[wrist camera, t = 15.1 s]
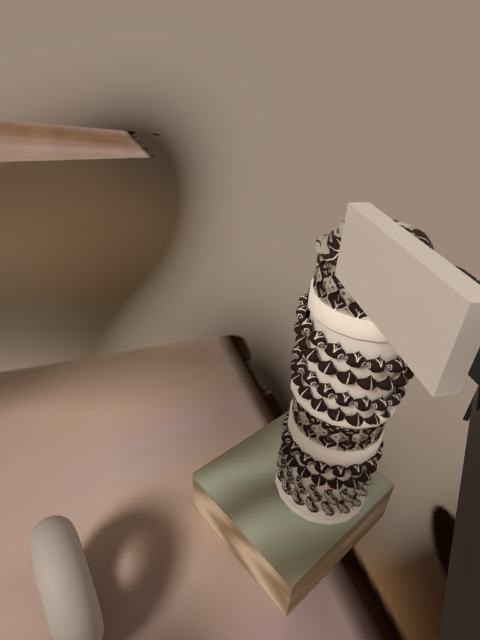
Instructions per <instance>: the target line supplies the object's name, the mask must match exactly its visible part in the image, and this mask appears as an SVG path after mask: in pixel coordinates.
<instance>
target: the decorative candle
mask: <svg viewBox="0 0 480 640" xmlns="http://www.w3.org/2000/svg"><path fill="white" fill-rule="evenodd" d="M392 220H393V219H392ZM393 221H395V222H396V223H397V224H399V225H400V226H401V227H403V228H404V229H405V230H407V231H408V232H410V233H411V234H412V235H414V236H415V237H416V238H418V239H419V240H420V241H422V242H423V243H424V244H426V245H427V246H428V247H430V248H431V249H432V250H434V248H433V246H432V243H431V241H430V239H429V237H428V236H427V234H425V233H424V232H423V231H421V230H420V229H418V228H416V227H414V226H412V225H409V224H407V223H404V222H401V221H397V220H393ZM344 222H345V221H343V222H342V223H340V224H339V225H338V226H336V227H335V228H334V229H333V230H332V232H330V233H326V234H324V235H323V236H322V237H320V238H319V239H317V240H316V251H317V252H318V258H317V264H316V270H315V275H314V278H313V279H312V280H311V285H310V288H309V290H308V294H304V295H302V296H301V297H300V299H299V304H300V305H301V306H299V307H298V309H297V311H296V314H297V317H298V319H299V322H297V323H296V324H295V326H294V331H295V332H296V333H297V334H298V335H297V337H296V339H295V343H296V344H297V345H296V346H295V347H294V348H293V351H292V352H293V356H294V357H295V358H296V359H294V360H293V361H292V362H291V369H292V370H293V372H292V376H291V378H292V379H291V389H292V392H293V394H294V399H293V400H292V401H291V405H290V411H289V412H288V413H287V415H286V419H285V420H284V421H283V427H284V432H283V433H282V434H281V439H282V442H281V445H280V446H279V449H278V454H279V456H278V458H277V472H276V479H275V483H276V486H277V489H278V492H279V495H280V497H281V499H282V500H283V501H284V502H285V503H286V505H287V506H288V507H289V508H290V510H291V511H292V512H294V513H296V514H297V515H299V516H301V517H303V518H304V519H306V520H308V521H310V522H315V523H320V524H324V525H332V524H338V523H344V522H347V521H348V520H350V519H351V518H352V517H354V516H355V515H357V514H358V513H359V512H360V509H361V507H362V505H363V503H364V501H365V498H366V496H367V495H368V491H367V490H366V489H365V485H367V486H370V485H372V479H371V478H370V474H373V473H374V472H375V471H376V469H377V464H376V461H378V460H379V459H380V458H381V455H382V453H381V450H380V449H381V448H382V447H383V441H382V439H383V436H384V433H385V426H384V425H385V423H386V421H388V420H389V419H391V418H392V417H393V415H394V413H395V411H396V409H397V407H398V405H399V403H400V398H402V397H404V395H405V389H404V388H403V386H405V385H406V384H407V383H408V380H409V379H411V378H412V377H413V376H414V373H413V372H412V371H411V369H410V368H409V367H408V366H407V364H406V363H405V362H404V361H403V359H402V358H401V357H400V356H399V354H398V353H397V352H396V351H395V349H394V348H393V347H392V346H391V344H390V343H389V342H388V341H387V340H386V338H385V337H384V336H383V335H382V333H381V332H380V331H379V330H378V328H377V327H376V326H375V325H374V323H373V322H372V321H371V320H370V318H369V317H368V316H367V315H366V313H365V312H364V311H363V310H362V308H361V307H360V306H359V305H358V303H357V302H356V301H355V300H354V298H353V297H352V296H351V295H350V293H349V292H348V291H347V290H346V288H345V287H344V286H343V285H342V283H341V282H340V281H339V280H338V279H337V277H336V276H335V270H336V265H337V260H338V254H339V249H340V244H341V238H342V233H343V228H344ZM306 307H307V308H308V310H306ZM302 331H303V332H304V333H302ZM402 370H403V371H404V370H405V371H404V374H403V373H402Z"/></svg>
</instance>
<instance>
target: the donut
mask: <svg viewBox="0 0 480 640" xmlns="http://www.w3.org/2000/svg"><path fill="white" fill-rule="evenodd" d="M29 553H30V559H31V564H32V569H33V574H34V578H35V582H36V587H37V590H38V594H39V598H40V602H41V606H42V609H43V613H44V616H45V620H46V623H47V626H48V630H49V633H50V636H51V639H52V640H102V638H103V634H104V622H103V616H102V612H101V608H100V604H99V601H98V597H97V593H96V590H95V587H94V583H93V580H92V577H91V573H90V570H89V567H88V564H87V560H86V557H85V554H84V551H83V548H82V545H81V542H80V539H79V536H78V534H77V531H76V529H75V527H74V525H73V523H72V522H71V521H70V520H69V519H68V518H65V517H63V516H51V517H47V518H45V519H44V520H42V521H41V522H39V523H38V525H37V526H36V527H35V528H34V530H33V531H32V533H31V535H30V540H29Z"/></svg>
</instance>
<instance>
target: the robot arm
mask: <svg viewBox="0 0 480 640" xmlns="http://www.w3.org/2000/svg"><path fill="white" fill-rule="evenodd" d="M335 276H336V277H337V279H338V280H339V281H340V282H341V283H342V285H343V286H344V287H345V288H346V290H347V291H348V292H349V293H350V295H351V296H352V297H353V298H354V300H355V301H356V302H357V303H358V305H359V306H360V307H361V308H362V310H363V311H364V312H365V313H366V315H367V316H368V317H369V318H370V320H371V321H372V322H373V323H374V325H375V326H376V327H377V328H378V330H379V331H380V332H381V333H382V335H383V336H384V337H385V338H386V340H387V341H388V342H389V343H390V344H391V346H392V347H393V348H394V349H395V351H396V352H397V353H398V354H399V356H400V357H401V358H402V359H403V361H404V362H405V363H406V364H407V366H408V367H409V368H410V369H411V371H412V372H413V373H414V374H415V376H416V377H417V378H418V379H419V381H420V382H421V383H422V384H423V386H424V387H425V388H426V389H427V390H428V392H429V393H430V394H431V396H432V397H441V396H449V395H459V394H461V391H462V389H463V387H464V385H465V382H466V380H467V378H468V376H470V377H471V378H472V379H473V380H474V381H475V382H476V383H477V384H478V385H479V386H478V388H477V390H476V392H475V395H474V397H473V399H472V401H471V403H470V405H469V407H468V409H467V411H466V414H465V416H464V418H463V420H466V421H468V420H469V418H470V422H469V429H468V437H467V443H466V450H465V457H464V465H463V471H462V478H461V485H460V492H459V499H458V506H457V513H456V520H455V527H454V534H453V541H452V548H451V555H450V562H449V569H448V576H447V583H446V590H445V597H444V603H443V610H442V618H441V625H440V632H439V638H438V640H480V281H479V280H478V281H477V280H476V278H475V277H473V276H472V275H471V274H469V273H468V272H467V271H465V270H464V269H461V268H459V267H457V266H455V265H452V264H451V263H450V262H448V261H447V260H446V259H444V258H443V257H442V256H440V255H439V254H438V253H436V252H435V251H434V250H432V249H431V248H430V247H428V246H427V245H426V244H424V243H423V242H422V241H420V240H419V239H418V238H416V237H415V236H414V235H412V234H411V233H410V232H408V231H407V230H405V229H404V228H403V227H401V226H400V225H399V224H397V223H396V222H395V221H393V220H392V219H391V218H389V217H388V216H387V215H385V214H384V213H383V212H381V211H380V210H379V209H377V208H376V207H375V206H373V205H372V204H371V203H369V202H365V203H364V202H363V203H362V202H361V203H348V207H347V212H346V217H345V222H344V228H343V233H342V238H341V244H340V249H339V254H338V260H337V265H336V270H335Z"/></svg>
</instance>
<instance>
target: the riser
mask: <svg viewBox="0 0 480 640" xmlns="http://www.w3.org/2000/svg"><path fill="white" fill-rule="evenodd" d="M289 411H290V410H289ZM289 411H288V412H289ZM288 412H286V413H285V414H283V415H282V416H280V417H279V418H277V419H275V420H274V421H272V422H271V423H269V424H268V425H266V426H265V427H263V428H262V429H260V430H259V431H257V432H256V433H254V434H253V435H251V436H249V437H248V438H246V439H245V440H243V441H242V442H240V443H239V444H237V445H236V446H234V447H233V448H231V449H230V450H228V451H226V452H225V453H223V454H222V455H220V456H219V457H217V458H216V459H214V460H213V461H211V462H210V463H208V464H207V465H205V466H203V467H202V468H200V469H199V470H197V471H196V472H194V473H193V505H194V507H195V508H196V509H197V510H198V511H199V513H200V514H201V515H202V516H203V517H204V519H205V520H206V521H207V522H208V523H209V525H210V526H211V527H212V528H213V529H214V531H215V532H216V533H217V534H218V535H219V537H220V538H221V539H222V540H223V541H224V543H225V544H226V545H227V546H228V547H229V549H230V550H231V551H232V552H233V553H234V555H235V556H236V557H237V558H238V559H239V561H240V562H241V563H242V564H243V565H244V567H245V568H246V569H247V570H248V571H249V573H250V574H251V575H252V576H253V577H254V579H255V580H256V581H257V582H258V583H259V584H260V586H261V587H262V588H263V589H264V590H265V592H266V593H267V594H268V595H269V596H270V598H271V599H272V600H273V601H274V602H275V604H276V605H277V606H278V607H279V608H280V610H281V611H282V612H283V613H284V614H285V616H287V615H288V614H289V613H290V612H291V611H292V610H293V609H294V608H295V607H296V605H297V604H298V603H299V602H300V601H301V600H302V599H303V598H304V597H305V596H306V595H307V594H308V593H309V592H310V591H311V590H312V589H313V588H314V587H315V586H316V585H317V584H318V583H319V582H320V581H321V579H322V578H323V577H324V576H325V575H326V574H327V573H328V572H329V571H330V570H331V569H332V568H333V567H334V566H335V565H336V564H337V563H338V562H339V561H340V560H341V559H342V558H343V557H344V556H345V554H346V553H347V552H348V551H349V550H350V549H351V548H352V547H353V546H354V545H355V544H356V543H357V542H358V541H359V540H360V539H361V538H362V537H363V536H364V535H365V534H366V533H367V532H368V531H369V529H370V528H371V527H372V526H373V525H374V524H375V523H376V522H377V521H378V520H379V519H380V518H381V517H382V516H383V513H384V511H385V508H386V505H387V503H388V500H389V497H390V495H391V492H392V490H393V487H394V485H393V484H392V483H391V482H389V481H388V480H387V479H385V478H384V477H383V476H382V475H380V474H379V473H378V472H376V471H375V472H374V473H373V474H370V478H371V479H372V485H370V486H367V485H365V489H366V490H367V491H368V495H367V496H366V498H365V501H364V503H363V505H362V507H361V509H360V512H359V513H358V514H357V515H355V516H354V517H352V518H351V519H350V520H348V521H347V522H344V523H338V524H332V525H324V524H320V523H315V522H310V521H308V520H306V519H304V518H303V517H301V516H299V515H297V514H296V513H294V512H292V511H291V510H290V508H289V507H288V506H287V505H286V503H285V502H284V501H283V500H282V499H281V497H280V495H279V492H278V489H277V486H276V483H275V479H276V472H277V458H278V456H279V454H278V449H279V446H280V445H281V442H282V439H281V434H282V433H283V432H284V427H283V421H284V420H285V419H286V415H287V413H288Z"/></svg>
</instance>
